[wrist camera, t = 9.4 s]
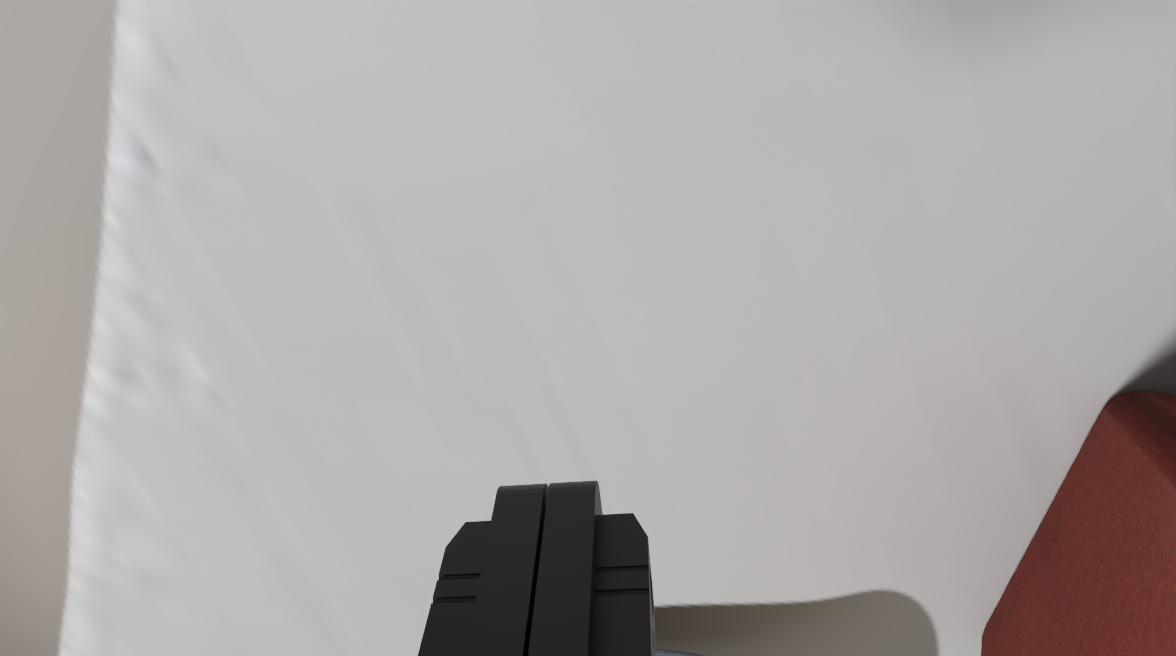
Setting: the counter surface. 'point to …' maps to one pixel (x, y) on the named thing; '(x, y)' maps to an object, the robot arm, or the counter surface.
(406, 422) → the counter surface
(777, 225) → the counter surface
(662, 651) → the smooth blue-grey rounded object
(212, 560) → the counter surface
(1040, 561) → the plant pot
